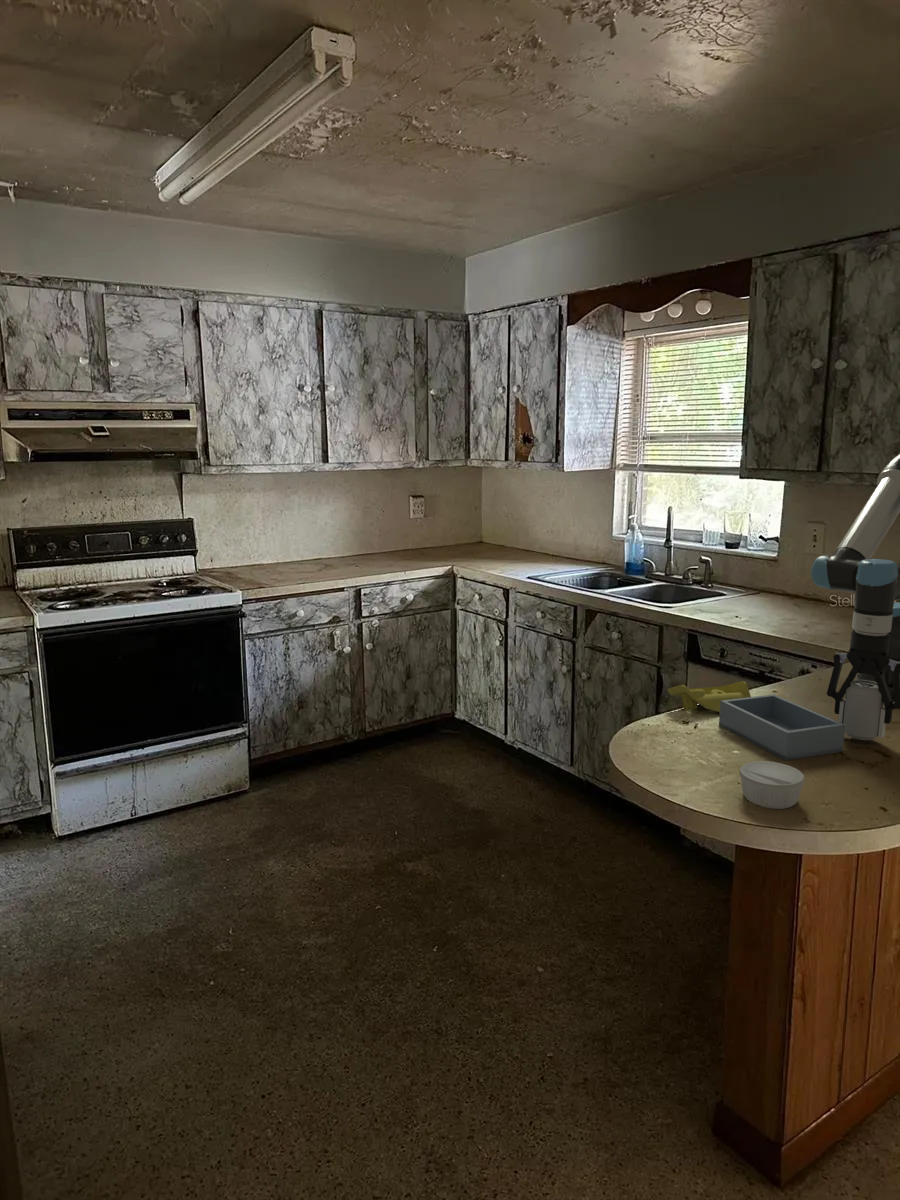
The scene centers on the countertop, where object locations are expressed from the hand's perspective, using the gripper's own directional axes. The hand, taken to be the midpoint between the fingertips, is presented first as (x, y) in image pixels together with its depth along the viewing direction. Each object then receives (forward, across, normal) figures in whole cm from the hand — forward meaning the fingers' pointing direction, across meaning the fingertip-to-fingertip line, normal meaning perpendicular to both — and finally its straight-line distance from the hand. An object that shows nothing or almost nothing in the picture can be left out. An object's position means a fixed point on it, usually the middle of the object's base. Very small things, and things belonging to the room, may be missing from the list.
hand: (860, 732), depth 185 cm
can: (+1, 0, 0) cm, 1 cm away
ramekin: (+2, -6, -43) cm, 43 cm away
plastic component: (+2, -35, +2) cm, 36 cm away
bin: (+2, -15, -10) cm, 18 cm away
